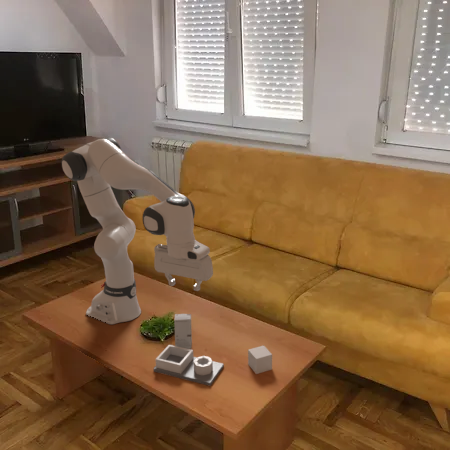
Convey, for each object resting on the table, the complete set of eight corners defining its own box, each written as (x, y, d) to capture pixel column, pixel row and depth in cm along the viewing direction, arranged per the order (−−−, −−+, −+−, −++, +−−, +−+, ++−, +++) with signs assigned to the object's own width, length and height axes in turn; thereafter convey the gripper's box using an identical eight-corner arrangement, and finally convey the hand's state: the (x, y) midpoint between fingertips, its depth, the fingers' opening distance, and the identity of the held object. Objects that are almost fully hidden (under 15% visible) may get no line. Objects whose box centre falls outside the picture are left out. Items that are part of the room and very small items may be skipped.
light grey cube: (256, 374, 170) (256, 359, 168) (248, 364, 176) (248, 349, 174) (272, 369, 173) (272, 354, 171) (263, 360, 178) (263, 345, 176)
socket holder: (153, 371, 173) (152, 360, 171) (169, 353, 182) (168, 342, 181) (210, 385, 165) (209, 374, 164) (223, 366, 175) (223, 355, 173)
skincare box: (175, 349, 185) (173, 320, 181) (175, 342, 189) (174, 313, 185) (192, 348, 185) (190, 319, 181) (192, 342, 189) (191, 313, 185)
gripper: (148, 246, 163) (152, 285, 168) (204, 256, 154) (206, 297, 158) (159, 239, 168) (163, 278, 173) (214, 248, 159) (216, 288, 164)
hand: (184, 287), depth 166 cm, fingers open, 8 cm apart
